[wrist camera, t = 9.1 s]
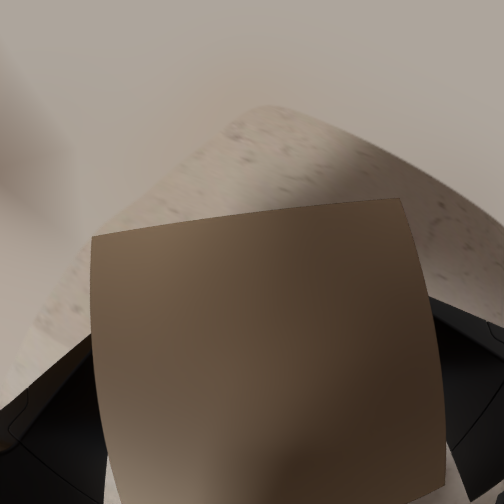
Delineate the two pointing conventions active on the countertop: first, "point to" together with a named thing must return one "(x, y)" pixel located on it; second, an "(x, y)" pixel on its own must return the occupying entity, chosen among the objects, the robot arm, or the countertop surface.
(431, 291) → the countertop surface
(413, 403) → the walnut column
